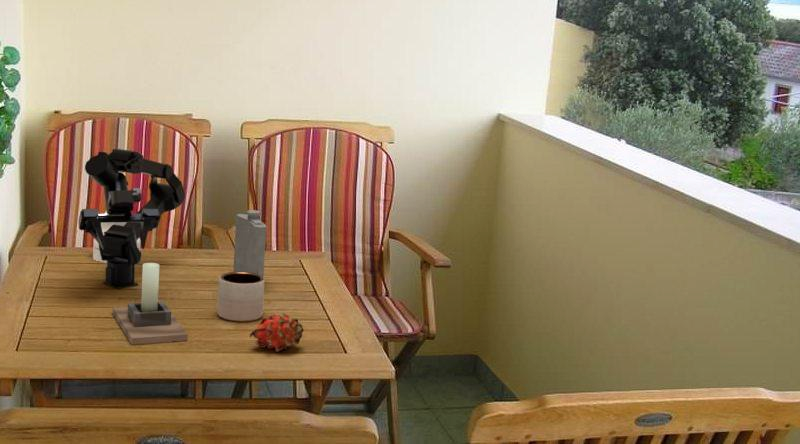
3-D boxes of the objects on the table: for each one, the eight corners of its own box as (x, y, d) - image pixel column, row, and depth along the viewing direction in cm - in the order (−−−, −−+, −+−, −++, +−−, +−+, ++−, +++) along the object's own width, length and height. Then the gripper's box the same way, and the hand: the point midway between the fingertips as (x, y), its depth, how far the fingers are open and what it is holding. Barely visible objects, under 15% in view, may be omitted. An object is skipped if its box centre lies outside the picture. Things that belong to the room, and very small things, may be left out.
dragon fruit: (306, 355, 210) (253, 365, 206) (298, 324, 215) (245, 332, 212) (309, 334, 203) (253, 343, 200) (300, 302, 209) (246, 311, 205)
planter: (270, 313, 232) (272, 276, 230) (249, 325, 221) (251, 286, 219) (231, 306, 235) (233, 268, 233) (208, 317, 225) (210, 278, 223)
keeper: (112, 313, 222) (112, 294, 221) (163, 310, 227) (164, 292, 226) (131, 345, 203) (132, 325, 202) (187, 340, 208) (188, 321, 207)
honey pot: (86, 254, 269) (87, 192, 266) (129, 250, 277) (131, 190, 273) (102, 265, 260) (103, 201, 256) (147, 261, 267) (149, 199, 264)
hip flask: (231, 276, 261) (235, 205, 256) (245, 275, 263) (249, 204, 259) (253, 292, 247) (257, 217, 243) (267, 291, 249) (272, 217, 245)
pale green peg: (146, 316, 217) (148, 261, 214) (160, 319, 216) (162, 264, 213) (137, 320, 213) (139, 265, 211) (151, 323, 212) (153, 268, 210)
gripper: (81, 175, 224) (87, 232, 216) (160, 176, 232) (169, 230, 225) (75, 201, 232) (81, 256, 225) (152, 200, 241) (160, 253, 233)
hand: (124, 248), depth 227 cm, fingers open, 9 cm apart
